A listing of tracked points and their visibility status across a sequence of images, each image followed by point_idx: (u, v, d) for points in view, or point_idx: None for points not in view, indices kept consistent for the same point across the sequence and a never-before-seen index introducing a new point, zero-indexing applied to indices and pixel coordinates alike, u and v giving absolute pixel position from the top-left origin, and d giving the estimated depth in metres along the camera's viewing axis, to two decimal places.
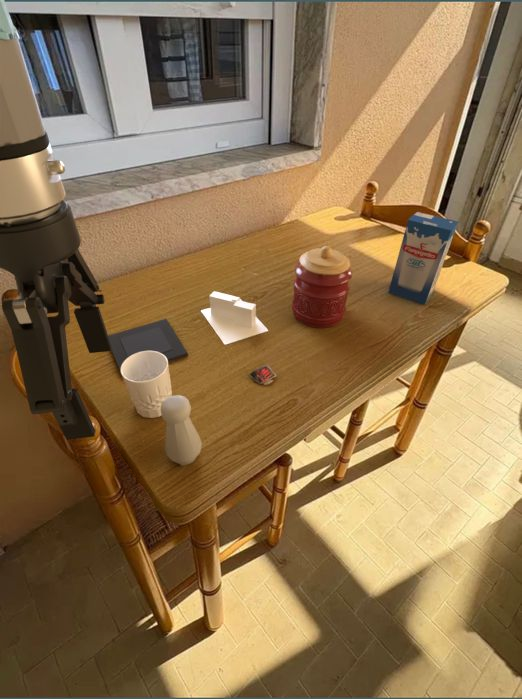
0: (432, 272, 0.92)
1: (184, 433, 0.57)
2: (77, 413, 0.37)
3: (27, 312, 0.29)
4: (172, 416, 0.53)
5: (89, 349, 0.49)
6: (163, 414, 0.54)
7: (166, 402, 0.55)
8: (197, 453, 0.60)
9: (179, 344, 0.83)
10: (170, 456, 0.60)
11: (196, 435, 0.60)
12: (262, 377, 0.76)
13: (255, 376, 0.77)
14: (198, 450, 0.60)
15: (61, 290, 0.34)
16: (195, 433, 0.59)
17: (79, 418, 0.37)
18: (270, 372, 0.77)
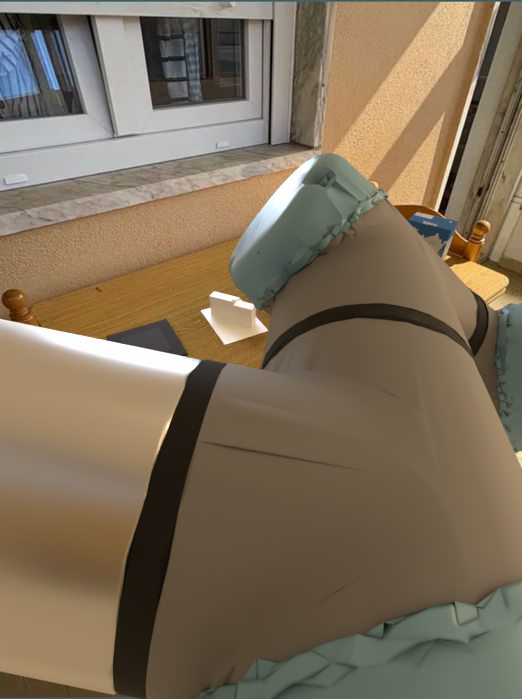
0: None
1: None
2: None
3: None
4: None
5: None
6: None
7: None
8: None
9: (179, 344, 0.83)
10: None
11: None
12: None
13: None
14: None
15: None
16: None
17: None
18: None
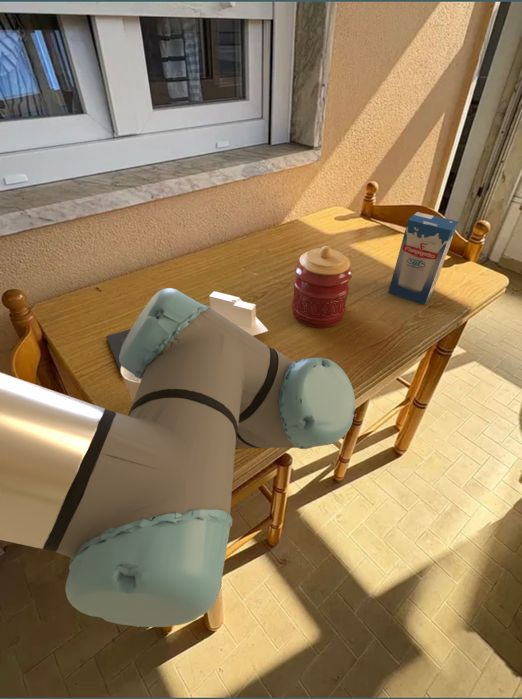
0: (432, 272, 0.92)
1: None
2: None
3: None
4: None
5: None
6: None
7: None
8: None
9: None
10: None
11: None
12: None
13: None
14: None
15: None
16: None
17: None
18: None
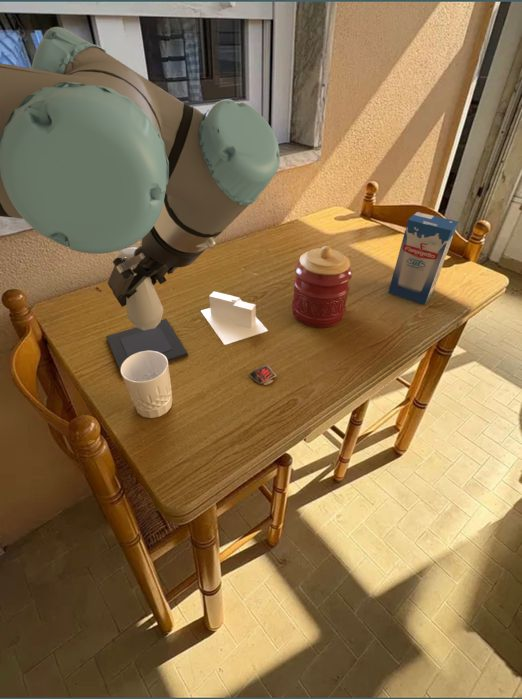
0: (432, 272, 0.92)
1: (142, 287, 0.57)
2: (125, 295, 0.59)
3: (120, 274, 0.47)
4: None
5: None
6: None
7: (123, 250, 0.55)
8: (157, 315, 0.61)
9: (179, 344, 0.83)
10: (130, 316, 0.60)
11: (156, 296, 0.60)
12: (262, 377, 0.76)
13: (255, 376, 0.77)
14: (158, 312, 0.61)
15: (156, 268, 0.49)
16: (155, 293, 0.60)
17: (124, 297, 0.59)
18: (270, 372, 0.77)
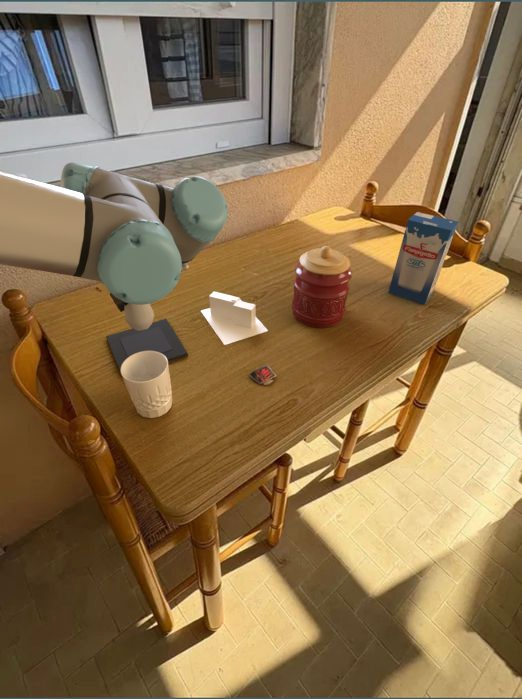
0: (432, 272, 0.92)
1: None
2: (123, 303, 0.75)
3: None
4: None
5: None
6: None
7: None
8: (149, 319, 0.77)
9: (179, 344, 0.83)
10: (127, 320, 0.76)
11: None
12: (262, 377, 0.76)
13: (255, 376, 0.77)
14: (150, 316, 0.77)
15: None
16: None
17: (122, 305, 0.75)
18: (270, 372, 0.77)
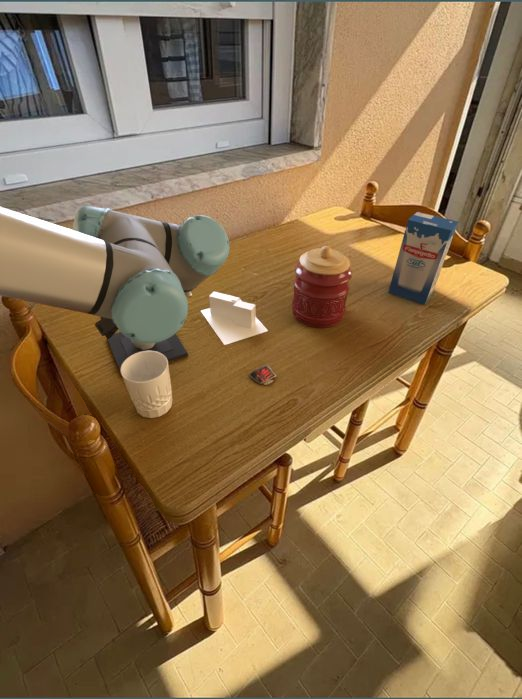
0: (432, 272, 0.92)
1: None
2: (110, 331, 0.73)
3: None
4: None
5: None
6: None
7: None
8: None
9: (179, 344, 0.83)
10: None
11: None
12: (262, 377, 0.76)
13: (255, 376, 0.77)
14: None
15: None
16: None
17: (109, 332, 0.74)
18: (270, 372, 0.77)
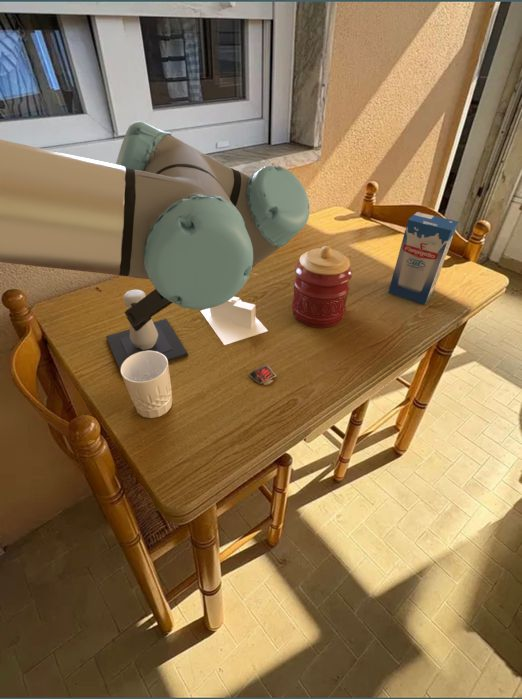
0: (432, 272, 0.92)
1: None
2: (140, 322, 0.61)
3: None
4: (131, 300, 0.73)
5: None
6: (125, 300, 0.74)
7: (127, 292, 0.75)
8: (153, 339, 0.80)
9: (179, 344, 0.83)
10: (133, 340, 0.79)
11: (152, 324, 0.80)
12: (262, 377, 0.76)
13: (255, 376, 0.77)
14: (154, 336, 0.80)
15: None
16: (151, 322, 0.79)
17: (139, 323, 0.62)
18: (270, 372, 0.77)
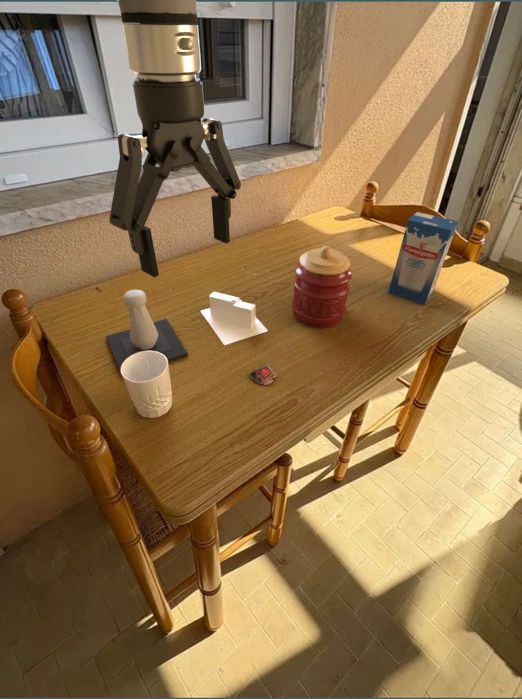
0: (432, 272, 0.92)
1: (142, 318, 0.77)
2: (146, 249, 0.48)
3: (127, 145, 0.41)
4: (131, 300, 0.73)
5: (214, 235, 0.59)
6: (125, 300, 0.74)
7: (127, 292, 0.75)
8: (153, 339, 0.80)
9: (179, 344, 0.83)
10: (133, 340, 0.79)
11: (152, 324, 0.80)
12: (262, 377, 0.76)
13: (255, 376, 0.77)
14: (154, 336, 0.80)
15: (169, 149, 0.44)
16: (151, 322, 0.79)
17: (147, 254, 0.49)
18: (270, 372, 0.77)
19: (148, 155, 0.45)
